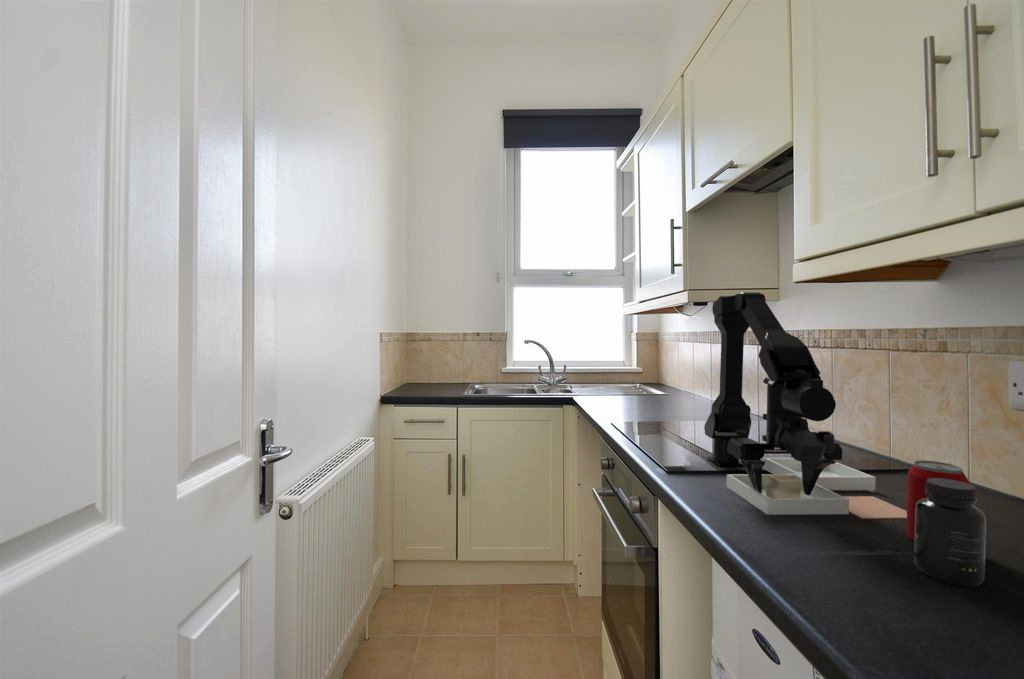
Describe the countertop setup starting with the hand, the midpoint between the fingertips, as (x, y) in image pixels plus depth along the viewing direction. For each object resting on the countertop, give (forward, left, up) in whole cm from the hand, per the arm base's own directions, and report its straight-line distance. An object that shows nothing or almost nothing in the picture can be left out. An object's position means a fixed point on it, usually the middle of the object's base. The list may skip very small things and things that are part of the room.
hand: (782, 494), depth 88 cm
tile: (+4, +13, -1) cm, 14 cm away
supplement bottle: (+26, +6, -2) cm, 27 cm away
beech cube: (0, 0, -1) cm, 1 cm away
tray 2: (-12, +14, -1) cm, 19 cm away
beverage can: (+18, +12, -2) cm, 22 cm away
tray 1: (0, 0, -1) cm, 1 cm away
